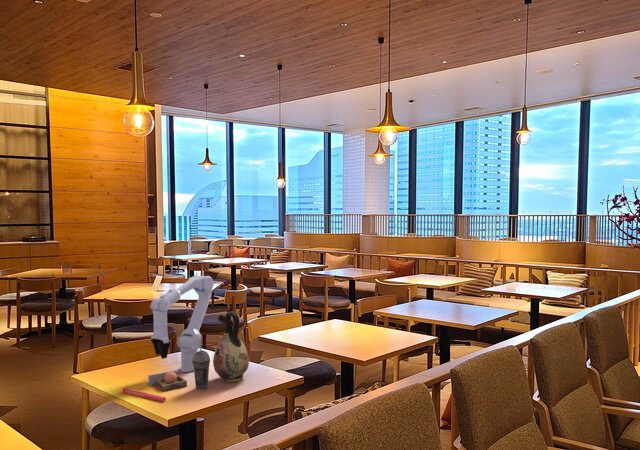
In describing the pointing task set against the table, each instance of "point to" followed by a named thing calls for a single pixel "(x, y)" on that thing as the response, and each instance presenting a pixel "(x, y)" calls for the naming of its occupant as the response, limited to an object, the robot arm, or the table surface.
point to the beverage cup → (201, 369)
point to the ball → (170, 377)
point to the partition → (157, 377)
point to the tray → (177, 384)
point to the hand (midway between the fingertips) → (161, 356)
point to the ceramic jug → (230, 351)
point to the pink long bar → (144, 394)
